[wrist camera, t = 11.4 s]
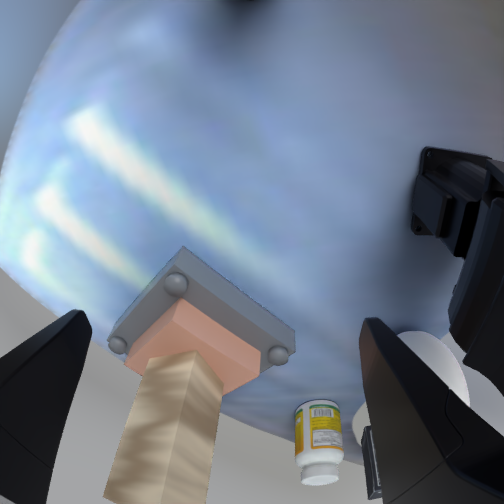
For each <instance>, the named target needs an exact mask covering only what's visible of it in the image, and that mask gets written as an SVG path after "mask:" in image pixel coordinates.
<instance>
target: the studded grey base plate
mask: <svg viewBox="0 0 504 504" xmlns="http://www.w3.org/2000/svg"><path fill="white" fill-rule="evenodd" d="M107 341H108V342H109V344H108V346H109V348H110V350H111V351H113V352H114V353H116V354H123V353H126V354H127V355H128V356H127V358H126V360H125V363H124V365H125V366H127V367H129V368H130V369H132V370H133V371H135V372H136V373H138V374H140V375H141V376H143V375H144V372H145V369H146V367H147V364H148V361H149V359H150V358H155V357H161V356H166V355H172V354H177V353H182V352H188V351H193V350H197V351H198V352H199V353H200V354H201V356H202V357H203V358H204V360H205V361H206V362H207V363H208V365H209V366H210V367H211V368H212V370H213V371H214V372H215V373H216V375H217V376H218V377H219V378H220V379H221V381H222V382H223V383H224V387H223V394H222V396H223V395H225V394H227V393H229V392H231V391H233V390H235V389H237V388H238V387H240V386H242V385H244V384H246V383H248V382H249V381H251V380H253V379H255V378H256V377H258V376H259V374H260V373H261V372H263V371H265V370H267V369H268V368H270V367H272V366H273V365H276V366H280V365H284V364H286V363H287V362H288V356H290V355H292V354H293V353H295V352H296V351H295V331H294V330H293V329H291V328H290V327H289V326H287V325H286V324H285V323H283V322H282V321H280V320H279V319H278V318H276V317H275V316H274V315H272V314H271V313H270V312H268V311H267V310H266V309H264V308H263V307H262V306H260V305H259V304H258V303H256V302H255V301H254V300H252V299H251V298H250V297H248V296H247V295H246V294H244V293H243V292H242V291H241V290H239V289H238V288H237V287H235V286H234V285H233V284H231V283H230V282H229V281H227V280H226V279H225V278H224V277H222V276H221V275H220V274H218V273H217V272H216V271H215V270H213V269H212V268H211V267H209V266H208V265H207V264H206V263H204V262H203V261H202V260H200V259H199V258H198V257H197V256H195V255H194V254H193V253H192V252H190V251H189V250H188V249H186V248H185V247H184V246H183V247H182V248H181V249H180V250H179V251H178V252H177V253H176V254H175V256H174V257H173V258H172V259H171V260H170V261H169V262H168V263H167V264H166V266H165V267H164V268H163V269H162V270H161V271H160V272H159V273H158V275H157V276H156V277H155V278H154V279H153V280H152V281H151V282H150V284H149V285H148V286H147V287H146V288H145V289H144V290H143V292H142V293H141V294H140V295H139V296H138V297H137V299H136V300H135V301H134V302H133V303H132V304H131V306H130V307H129V308H128V309H127V310H126V311H125V313H124V314H123V315H122V316H121V317H120V319H119V320H118V321H117V322H116V324H115V326H114V327H113V329H112V331H111V333H110V335H109V337H108V339H107Z"/></svg>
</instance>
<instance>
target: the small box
mask: <svg viewBox="0 0 504 504" xmlns="http://www.w3.org/2000/svg"><path fill="white" fill-rule="evenodd" d="M361 445H362V452H363V459H364V467H365V475H366V484H367V493H368V500H372V499H376V498H381V497H382V491H381V484H380V477H379V470H378V464H377V458H376V452H375V446H374V440H373V434H372V429H371V425H370V426H366V427H365V428H364V432H363V436H362V439H361Z"/></svg>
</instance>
